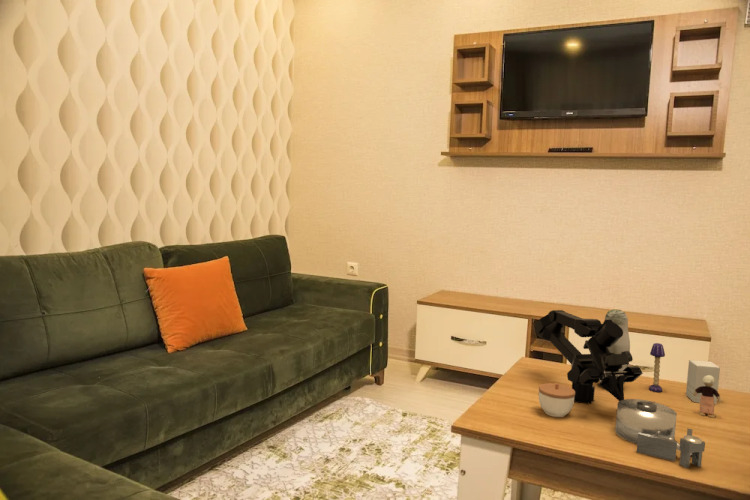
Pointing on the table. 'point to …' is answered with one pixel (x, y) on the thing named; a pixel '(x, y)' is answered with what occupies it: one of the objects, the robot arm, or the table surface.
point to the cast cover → (644, 419)
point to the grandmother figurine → (707, 396)
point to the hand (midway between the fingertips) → (622, 401)
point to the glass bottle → (624, 341)
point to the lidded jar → (556, 399)
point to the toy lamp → (656, 365)
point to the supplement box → (701, 377)
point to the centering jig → (672, 448)
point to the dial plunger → (680, 448)
